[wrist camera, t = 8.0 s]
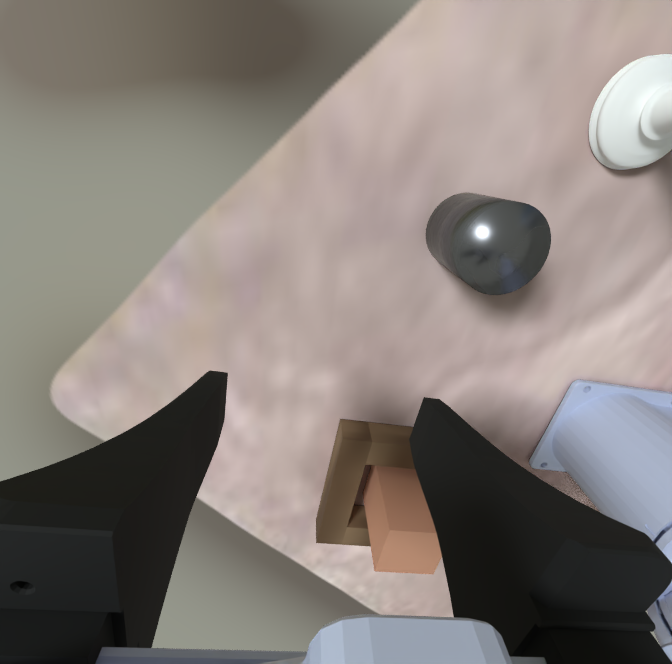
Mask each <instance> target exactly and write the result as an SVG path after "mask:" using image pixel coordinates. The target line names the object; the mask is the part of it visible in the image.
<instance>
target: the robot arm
mask: <svg viewBox="0 0 672 664" xmlns="http://www.w3.org/2000/svg"><path fill="white" fill-rule="evenodd" d="M227 376H228V373H225V372H217V371H209V372H207V373H206V374H205V375H203V376H202V377H201V378H200V379H199V380H198V381H197V382H195V383H194V384H193V385H192V386H191V387H189V388H188V389H187V390H186V391H185V392H183V393H182V394H181V395H180V396H178V397H177V398H176V399H174V400H173V401H172V402H171V403H169V404H168V405H166V406H165V407H164V408H162V409H161V410H159V411H158V412H156V413H155V414H154V415H152V416H151V417H149V418H148V419H146V420H145V421H143V422H141V423H140V424H138V425H136V426H135V427H133V428H131V429H129V430H128V431H126V432H124V433H122V434H120V435H118V436H116V437H114V438H112V439H110V440H108V441H106V442H104V443H102V444H100V445H98V446H96V447H94V448H91V449H89V450H87V451H85V452H82V453H80V454H78V455H75V456H73V457H70V458H68V459H65V460H62V461H60V462H57V463H55V464H52V465H49V466H47V467H44V468H41V469H38V470H35V471H32V472H29V473H26V474H23V475H20V476H16V477H13V478H10V479H7V480H4V481H1V482H0V664H672V392H665V391H658V390H651V389H644V388H637V387H629V386H622V385H615V384H608V383H601V382H594V381H587V380H576V381H574V382H573V383H572V384H571V386H570V387H569V389H568V391H567V393H566V395H565V397H564V398H563V400H562V402H561V404H560V406H559V407H558V409H557V411H556V413H555V415H554V417H553V418H552V420H551V422H550V424H549V426H548V427H547V429H546V431H545V433H544V435H543V437H542V438H541V440H540V442H539V444H538V446H537V448H536V449H535V451H534V453H533V455H532V457H531V458H530V460H529V464H530V466H531V467H532V468H534V469H543V470H553V471H563V472H568V474H569V475H570V476H571V477H572V478H573V480H574V481H575V482H576V483H577V484H578V486H579V487H580V488H581V489H582V491H583V492H584V493H585V494H586V495H587V497H588V498H589V499H590V500H591V501H592V503H593V504H594V505H595V506H596V508H597V509H598V510H599V511H600V512H601V513H600V512H598V511H596V510H594V509H592V508H590V507H588V506H586V505H584V504H582V503H580V502H578V501H577V500H575V499H573V498H571V497H569V496H567V495H566V494H564V493H562V492H561V491H559V490H557V489H556V488H554V487H552V486H551V485H549V484H547V483H546V482H544V481H542V480H541V479H539V478H538V477H536V476H534V475H533V474H531V473H530V472H529V471H527V470H526V469H524V468H523V467H521V466H520V465H518V464H517V463H516V462H514V461H513V460H512V459H510V458H509V457H507V456H506V455H505V454H504V453H502V452H501V451H500V450H499V449H497V448H496V447H495V446H494V445H492V444H491V443H490V442H489V441H487V440H486V439H485V438H484V437H483V436H481V435H480V434H479V433H478V432H477V431H476V430H475V429H473V428H472V427H471V426H470V425H469V424H468V423H467V422H465V421H464V420H463V419H462V418H461V417H460V416H459V415H458V414H457V413H455V412H454V411H453V410H452V409H451V408H450V407H448V406H447V405H446V404H445V403H444V402H442V401H441V400H440V399H433V398H425V397H424V399H423V402H422V404H421V407H420V410H419V413H418V416H417V419H416V421H415V424H414V427H413V430H412V433H411V436H410V438H409V442H410V448H411V453H412V458H413V463H414V467H415V470H416V473H417V476H418V479H419V482H420V485H421V488H422V491H423V493H424V496H425V499H426V502H427V505H428V508H429V511H430V514H431V517H432V520H433V523H434V526H435V530H436V533H437V537H438V541H439V545H440V550H441V554H442V558H443V563H444V568H445V572H446V577H447V582H448V587H449V592H450V597H451V603H452V609H453V614H454V617H428V616H402V615H375V614H363V615H354V616H346V617H342V618H339V619H337V620H335V621H333V622H330V623H328V624H326V625H324V626H323V627H322V629H321V630H320V631H319V632H318V633H317V635H316V636H315V637H314V638H313V640H312V641H311V642H310V645H309V648H308V652H294V651H293V652H292V651H251V650H210V649H208V650H207V649H205V650H204V649H166V648H151V647H152V643H153V640H154V636H155V632H156V629H157V625H158V621H159V617H160V614H161V610H162V606H163V603H164V599H165V596H166V592H167V588H168V585H169V581H170V578H171V575H172V571H173V568H174V564H175V561H176V557H177V554H178V551H179V547H180V544H181V540H182V537H183V534H184V531H185V527H186V524H187V521H188V517H189V514H190V512H191V509H192V506H193V503H194V501H195V498H196V496H197V494H198V491H199V489H200V486H201V484H202V482H203V479H204V477H205V474H206V472H207V469H208V467H209V465H210V462H211V460H212V457H213V455H214V452H215V450H216V447H217V445H218V441H219V438H220V434H221V430H222V427H223V423H224V417H225V404H226V390H227ZM585 387H586V388H585ZM584 388H585V389H584ZM646 610H647V612H648V614H647V613H646V612H645V611H646ZM650 631H654V633H655V635H656V638H657V640H658V642H659V643H660V645H661V646H660V645H659V644H658V642H657V641H656V640H655V638H654V637H653V635H652V634H651V633H650Z"/></svg>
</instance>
